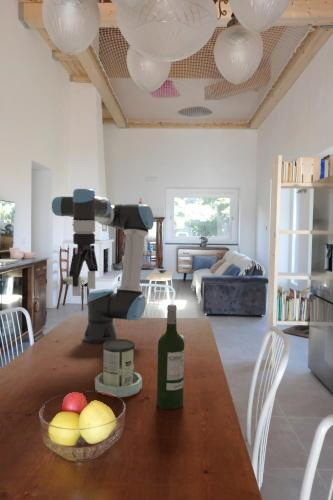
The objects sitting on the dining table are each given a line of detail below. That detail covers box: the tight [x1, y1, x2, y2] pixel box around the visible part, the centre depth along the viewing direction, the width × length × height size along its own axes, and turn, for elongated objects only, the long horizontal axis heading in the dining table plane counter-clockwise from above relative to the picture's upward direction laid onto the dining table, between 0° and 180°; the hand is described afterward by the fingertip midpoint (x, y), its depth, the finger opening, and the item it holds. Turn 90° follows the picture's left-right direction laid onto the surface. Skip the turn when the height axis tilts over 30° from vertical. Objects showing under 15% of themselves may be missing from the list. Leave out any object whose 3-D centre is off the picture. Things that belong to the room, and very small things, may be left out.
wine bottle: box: [156, 303, 185, 410], centre depth 115 cm, size 8×8×30 cm
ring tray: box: [94, 371, 143, 398], centre depth 127 cm, size 15×15×3 cm
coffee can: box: [102, 338, 136, 387], centre depth 127 cm, size 10×10×14 cm
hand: (84, 292), depth 139 cm, fingers open, 13 cm apart
